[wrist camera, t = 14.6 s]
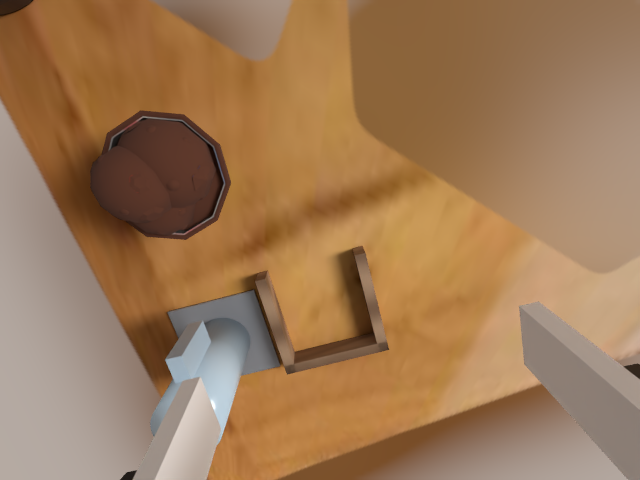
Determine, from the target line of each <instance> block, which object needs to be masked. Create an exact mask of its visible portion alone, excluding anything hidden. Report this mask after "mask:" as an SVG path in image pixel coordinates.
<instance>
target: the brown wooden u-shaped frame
mask: <svg viewBox="0 0 640 480" xmlns="http://www.w3.org/2000/svg"><path fill="white" fill-rule="evenodd" d="M353 253H354V257H355V261H356V265H357V269H358V272H359V276H360V280H361V284H362V288H363V292H364V296H365V300H366V304H367V308H368V312H369V316H370V320H371V324H372V328H373V332H374V333H371V334H366V335H362V336H358V337H354V338H350V339H346V340H342V341H338V342H334V343H330V344H326V345H322V346H318V347H313V348H309V349H305V350H301V351H297V352H295V351H294V348H293V345H292V342H291V339H290V336H289V333H288V330H287V327H286V324H285V321H284V318H283V315H282V312H281V309H280V306H279V303H278V300H277V297H276V294H275V291H274V288H273V285H272V282H271V279H270V276H269V273H268V271H264V272H260V273H258V275H257V277H256V280H255V283H256V286H257V289H258V292H259V295H260V297H261V300H262V303H263V306H264V309H265V312H266V315H267V318H268V321H269V323H270V326H271V329H272V332H273V335H274V338H275V341H276V344H277V347H278V350H279V352H280V355H281V358H282V361H283V364H284V367H285V370H286V373H287V374H291V373H295V372H299V371H303V370H307V369H311V368H316V367H320V366H324V365H328V364H332V363H336V362H340V361H344V360H349V359H353V358H357V357H361V356H365V355H369V354H373V353H378V352H382V351H386V350H389V348H388V344H387V340H386V336H385V332H384V327H383V323H382V319H381V315H380V311H379V307H378V303H377V299H376V295H375V291H374V286H373V282H372V278H371V274H370V270H369V266H368V262H367V258H366V254H365V251H364V249H363V246H361V247H357V248H353Z"/></svg>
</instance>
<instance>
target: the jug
mask: <svg viewBox="0 0 640 480" xmlns="http://www.w3.org/2000/svg"><path fill="white" fill-rule="evenodd" d="M250 342H251V341H250V335H249V333H248V331H247V329H246V328H245V327H244V326H243V325H242V324H241V323H239V322H237V321H235V320H233V319H230V318H217V319H213V320H211V321H209V322H208V323H206V324H205V325H204V322H203V320H202V321H198V322H193V323H189V324H188V325H187V327H186V328H185V330H184V332H183V333H182V335H181V336H180V338H179V339H178V341H177V342H176V344H175V345H174V347H173V348H172V350H171V351H170V353H169V354H168V356H167V357H166V359H165V361H166V363H167V365H168V368H169V370H170V372H171V375H172V377H173V380H172V381H171V383H170V385H169V387H168V388H167V390H166V392H165V394H164V395H163V397H162V399H161V401H160V402H159V404H158V406H157V408H156V409H155V411H154V413H153V415H152V418H151V423H150V425H151V431H152V433H153V436H155V434H156V432H157V430H158V428H159V426H160V424H161V422H162V420H163V418H164V417H165V415H166V413H167V411H168V409H169V407H170V405H171V403H172V401H173V399H174V397H175V395H176V393H177V391H178V389H179V387H180V385H181V383H182V381H183V380H188V379H192V378H197V377H201V379H202V382H203V384H204V387H205V389H206V392H207V394H208V397H209V399H210V402H211V404H212V407H213V409H214V412H215V414H216V417H217V419H218V422H219V424H220V427H221V432H220V435H219V439H218V442H217V445H218V443H219V442H220V440H221V438H222V435H223V431H224V428H225V425H226V422H227V419H228V415H229V412H230V409H231V406H232V403H233V399H234V396H235V393H236V390H237V387H238V383H239V380H240V377H241V374H242V370H243V367H244V364H245V361H246V358H247V354H248V351H249V348H250ZM217 445H216V446H217Z"/></svg>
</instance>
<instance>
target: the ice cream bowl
mask: <svg viewBox="0 0 640 480" xmlns="http://www.w3.org/2000/svg"><path fill="white" fill-rule="evenodd" d="M230 184H231V180H230V177H229V174H228V170H227V167H226V164H225V160H224V157H223V154H222V150H221V147H220V144H219V143H217V142H216V141H215V140H214V139H213V138H211V137H210V136H209V135H208V134H207V133H205V132H204V131H203V130H202V129H201V128H199V127H198V126H197V125H196V124H195V123H193V122H192V121H191V120H190V119H189V118H187V117H186V116H185V115H183V114H172V113H161V112H151V111H139V112H138V113H136V114H135V115H133V116H132V117H130V118H129V119H128V120H126V121H125V122H123V123H122V124H120V125H119V126H117V127H116V128H114V129H113V130H111V131H110V132H108V133H107V136H106V140H105V144H104V148H103V152H102V155H101V156H100V157H99V158H98V159H97V160H96V161H95V162H93V165H92V168H91V190H92V192H93V194H94V196H95V197H96V199H97V201H98V202H99V204H100V206H101V207H102V208H104V209H105V210H107V211H108V212H109V213H111V214H112V215H113V216H115V217H117V218H118V219H121V220H125V221H126V222H127V223H129V224H130V225H132V226H133V227H134V228H136V229H137V230H138V231H140V232H141V233H142V234H144V235H145V236H146V237H158V238H171V239H184V240H186V239H188V238H189V237H191V236H193V235H194V234H196V233H198V232H199V231H201V230H202V229H204V228H206V227H207V226H209V225H211V224H212V223H214V222H216V221H217V220H218V218H219V215H220V212H221V209H222V207H223V204H224V201H225V198H226V195H227V193H228V190H229V187H230Z"/></svg>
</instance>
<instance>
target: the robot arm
mask: <svg viewBox="0 0 640 480" xmlns="http://www.w3.org/2000/svg"><path fill="white" fill-rule="evenodd" d="M31 1H32V0H0V15H3V14H8V13H11V12H14V11H17V10H19V9H21V8H23V7H24V6H26V5H27V4H29V3H30V2H31ZM519 309H520V321H521V332H522V343H523V354H524V364H525V365H526V367H527V368H528V369H529V370H530V371H531V372H532V373H533V374H534V375H535V377H536V378H537V379H538V380H539V381H540V382H541V383H542V384H543V385H544V387H545V388H546V389H547V390H548V391H549V392H550V393H551V394H552V395H553V397H554V398H555V399H556V400H557V401H558V402H559V403H560V404H561V406H562V407H563V408H564V409H565V410H566V411H567V412H568V413H569V414H570V416H571V417H572V418H573V419H574V420H575V421H576V422H577V423H578V424H579V426H580V427H581V428H582V429H583V430H584V431H585V432H586V433H587V434H588V435H589V437H590V438H591V439H592V440H593V441H594V442H595V443H596V444H597V445H598V447H599V448H600V449H601V450H602V451H603V452H604V453H605V454H606V455H607V457H608V458H609V459H610V460H611V461H612V462H613V463H614V464H615V466H616V467H617V468H618V469H619V470H620V471H621V472H622V473H623V475H624V476H625V477H626V478H627V479H628V480H640V365H639V364H633V365H628V366H624V367H623V366H622V365H620V364H619V363H618V362H616V361H615V360H614V359H613V358H611V357H610V356H609V355H607V354H606V353H605V352H603V351H602V350H601V349H600V348H598V347H597V346H596V345H594V344H593V343H592V342H590V341H589V340H588V339H587V338H585V337H584V336H583V335H581V334H580V333H579V332H577V331H576V330H575V329H574V328H572V327H571V326H570V325H568V324H567V323H566V322H564V321H563V320H562V319H560V318H559V317H558V316H557V315H555V314H554V313H553V312H551V311H550V310H549V309H547V308H546V307H545V306H544V305H542V304H541V303H540V302H535V303H531V304H526V305H522V306H519ZM220 432H221V427H220V424H219V422H218V419H217V417H216V414H215V412H214V409H213V407H212V404H211V402H210V399H209V397H208V394H207V392H206V389H205V387H204V384H203V382H202V379H201V377H197V378H192V379H188V380H183V381H182V383H181V385H180V387H179V389H178V391H177V393H176V395H175V397H174V399H173V401H172V403H171V405H170V407H169V409H168V411H167V413H166V415H165V417H164V418H163V420H162V422H161V424H160V426H159V428H158V430H157V432H156V434H155V436H154V438H153V440H152V442H151V444H150V446H149V448H148V450H147V452H146V454H145V456H144V458H143V460H142V462H141V464H140V466H139V468H138V470H136V471H131V472H127V473H126V474H125V475H124V476H123V477H122V478H121V479H120V480H206V479H207V476H208V472H209V469H210V465H211V462H212V459H213V455H214V452H215V449H216V445H217V442H218V439H219V435H220Z"/></svg>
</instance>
